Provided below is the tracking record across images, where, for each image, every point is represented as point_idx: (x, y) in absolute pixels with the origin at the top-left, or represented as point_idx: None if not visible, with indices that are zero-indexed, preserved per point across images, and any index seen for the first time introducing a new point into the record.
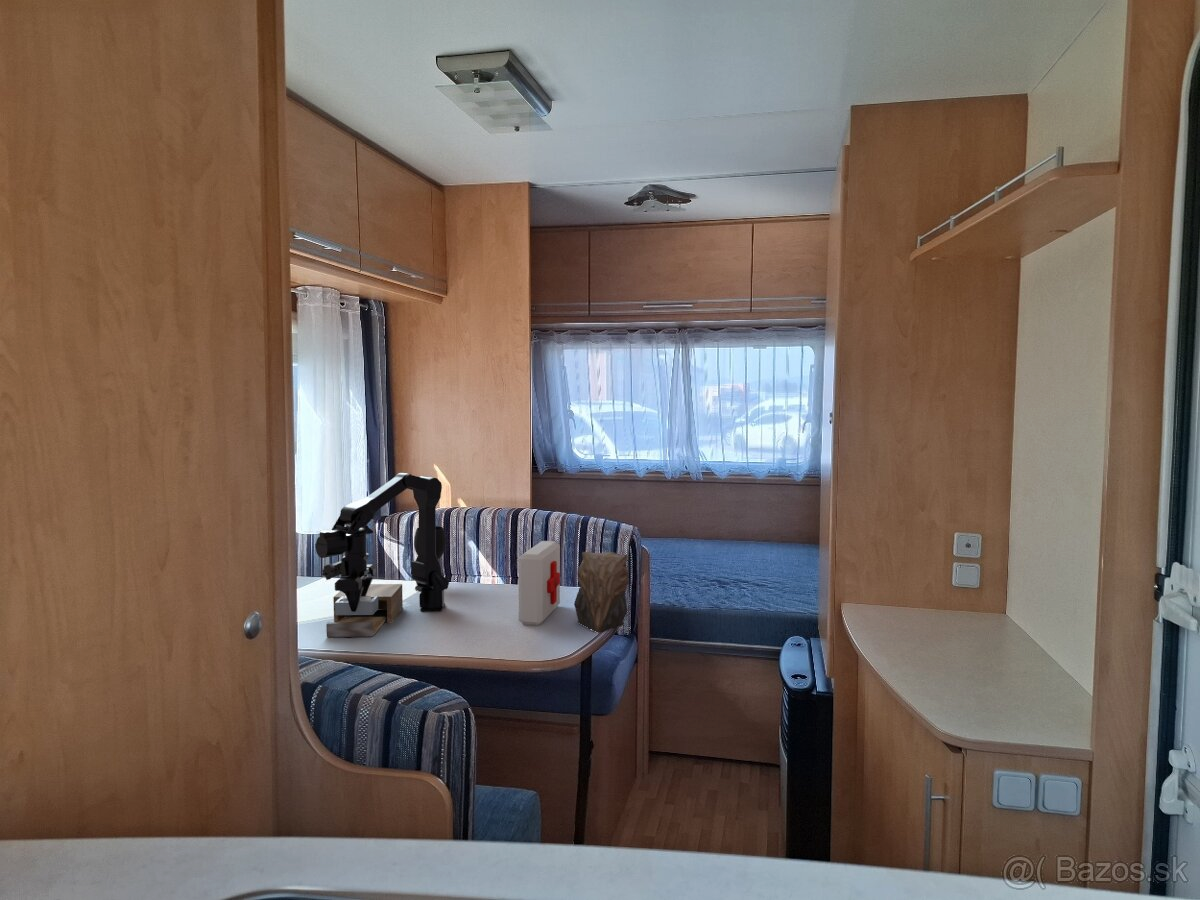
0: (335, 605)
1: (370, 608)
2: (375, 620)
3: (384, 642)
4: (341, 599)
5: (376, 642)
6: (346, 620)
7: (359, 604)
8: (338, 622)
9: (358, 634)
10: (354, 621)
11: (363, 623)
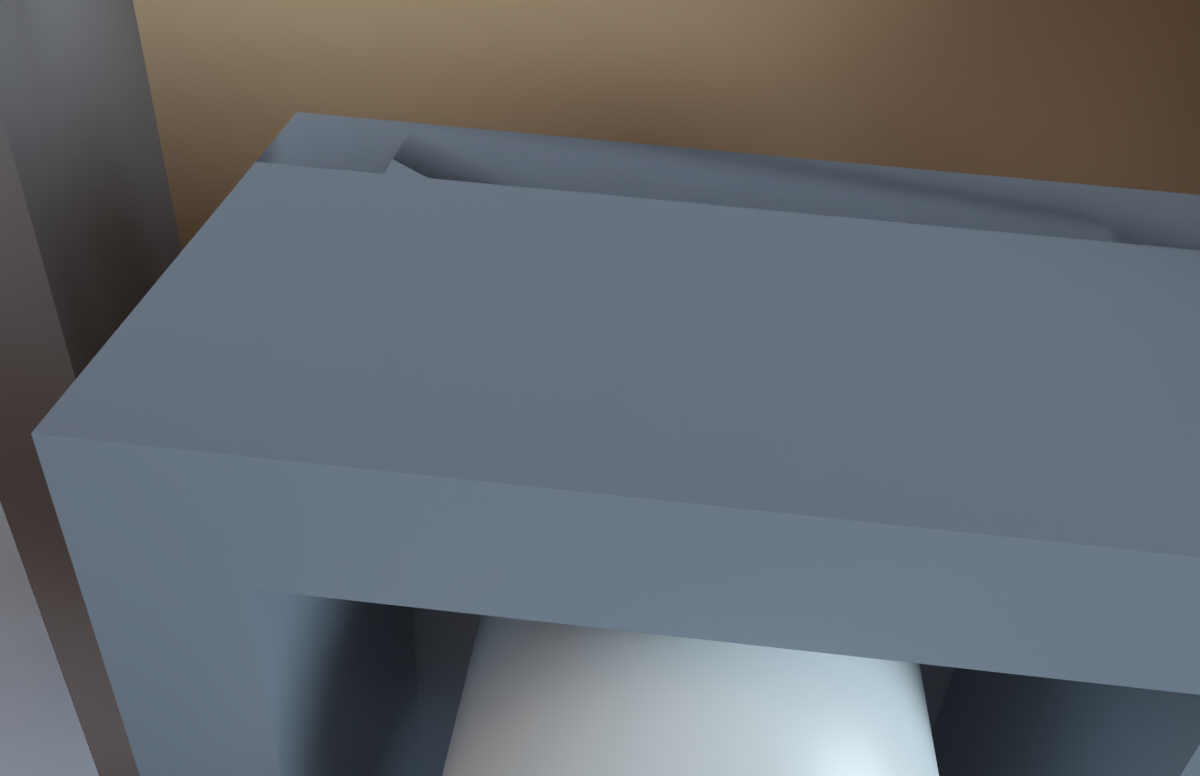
0: (131, 349)
1: None
2: None
3: (41, 736)
4: (763, 631)
5: (16, 664)
6: (1139, 119)
7: None
8: (10, 229)
9: None
10: None
11: (80, 713)
